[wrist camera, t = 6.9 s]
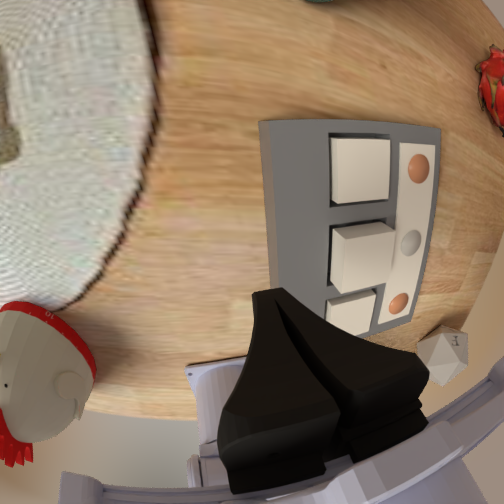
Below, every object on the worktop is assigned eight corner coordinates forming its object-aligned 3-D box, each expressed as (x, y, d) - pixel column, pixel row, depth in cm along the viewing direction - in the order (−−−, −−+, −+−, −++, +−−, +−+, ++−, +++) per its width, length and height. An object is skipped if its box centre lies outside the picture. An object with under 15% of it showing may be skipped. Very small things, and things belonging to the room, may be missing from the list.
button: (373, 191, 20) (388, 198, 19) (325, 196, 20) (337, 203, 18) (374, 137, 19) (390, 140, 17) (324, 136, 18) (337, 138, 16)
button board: (396, 306, 29) (412, 323, 26) (273, 339, 27) (282, 363, 24) (418, 125, 20) (443, 129, 17) (258, 121, 18) (270, 120, 15)
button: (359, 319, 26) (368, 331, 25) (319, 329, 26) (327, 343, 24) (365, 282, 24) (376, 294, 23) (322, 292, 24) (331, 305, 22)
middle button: (375, 270, 22) (388, 282, 20) (330, 280, 22) (341, 293, 20) (381, 221, 20) (395, 231, 18) (332, 228, 20) (345, 239, 18)
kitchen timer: (75, 304, 21) (20, 446, 8) (110, 394, 27) (98, 505, 14) (-19, 297, 19) (-81, 392, 5) (23, 381, 24) (-4, 470, 11)
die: (452, 324, 36) (485, 329, 26) (441, 374, 35) (472, 389, 25) (412, 321, 37) (443, 328, 27) (402, 374, 36) (428, 393, 26)
